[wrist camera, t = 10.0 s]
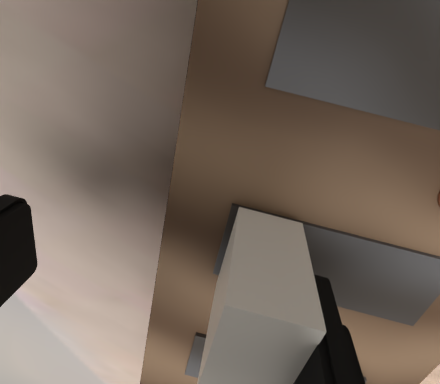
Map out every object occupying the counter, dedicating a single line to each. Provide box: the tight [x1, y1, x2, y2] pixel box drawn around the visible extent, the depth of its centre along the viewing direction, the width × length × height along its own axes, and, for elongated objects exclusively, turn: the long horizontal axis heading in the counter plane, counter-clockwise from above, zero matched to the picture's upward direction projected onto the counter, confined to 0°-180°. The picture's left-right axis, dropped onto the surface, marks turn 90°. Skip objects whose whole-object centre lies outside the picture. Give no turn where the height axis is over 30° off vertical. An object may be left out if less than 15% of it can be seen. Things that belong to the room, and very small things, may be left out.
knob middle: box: [197, 207, 327, 384], centre depth 9 cm, size 4×2×4 cm, turn 167°
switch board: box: [140, 0, 440, 384], centre depth 13 cm, size 27×14×2 cm, turn 167°
